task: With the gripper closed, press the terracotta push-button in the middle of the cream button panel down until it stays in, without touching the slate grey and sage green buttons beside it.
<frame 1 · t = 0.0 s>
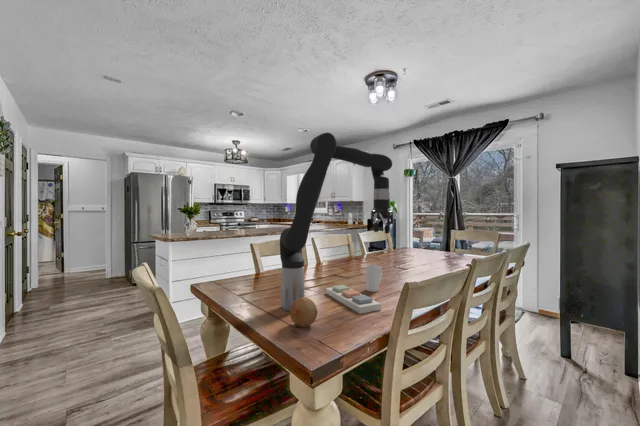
hand: (381, 232, 141), 29 cm above the table, tool pointing down, fingers open, 8 cm apart
button panel: (351, 300, 131), on the table
terracotta button: (351, 294, 131), point 3 cm above the table, slide at 0.0 cm
grey button: (362, 299, 123), point 3 cm above the table, slide at 0.0 cm
green button: (341, 288, 139), point 3 cm above the table, slide at 0.0 cm
mug: (374, 289, 149), on the table
onion: (303, 326, 104), on the table
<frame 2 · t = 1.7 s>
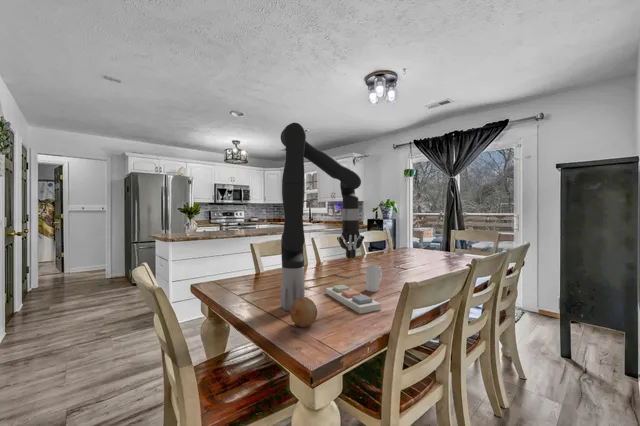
hand: (350, 258, 131), 19 cm above the table, tool pointing down, fingers closed
nothing on the table moved.
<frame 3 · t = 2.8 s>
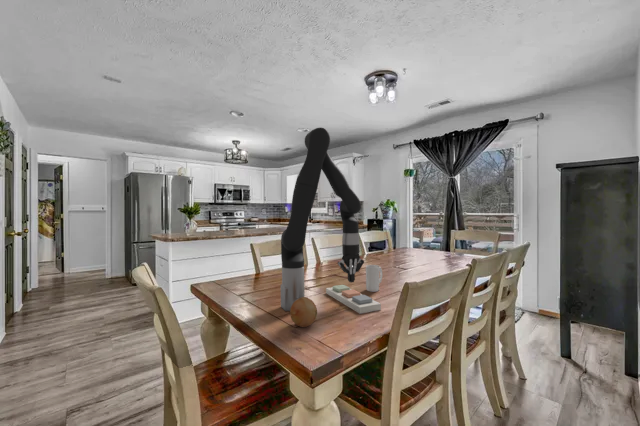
hand: (351, 281, 131), 8 cm above the table, tool pointing down, fingers closed
nothing on the table moved.
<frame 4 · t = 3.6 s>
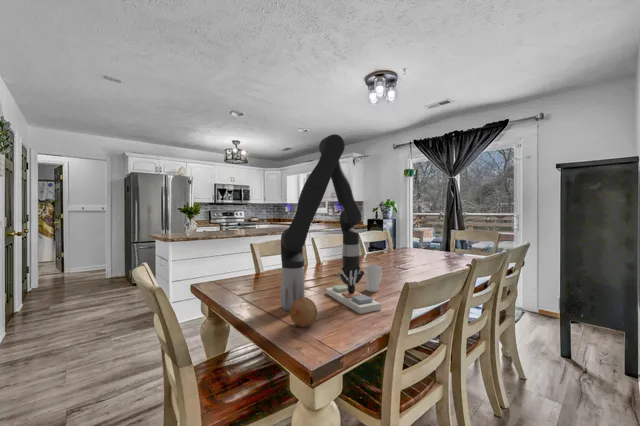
hand: (351, 293, 131), 3 cm above the table, tool pointing down, fingers closed
terracotta button: (351, 295, 131), point 2 cm above the table, slide at 0.6 cm, touching gripper
everything else where it was.
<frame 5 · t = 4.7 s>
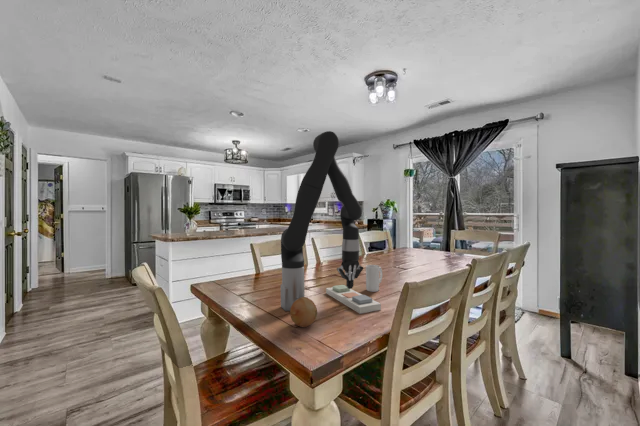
hand: (349, 288, 131), 6 cm above the table, tool pointing down, fingers closed
terracotta button: (351, 297, 131), point 2 cm above the table, slide at 1.4 cm
everything else where it was.
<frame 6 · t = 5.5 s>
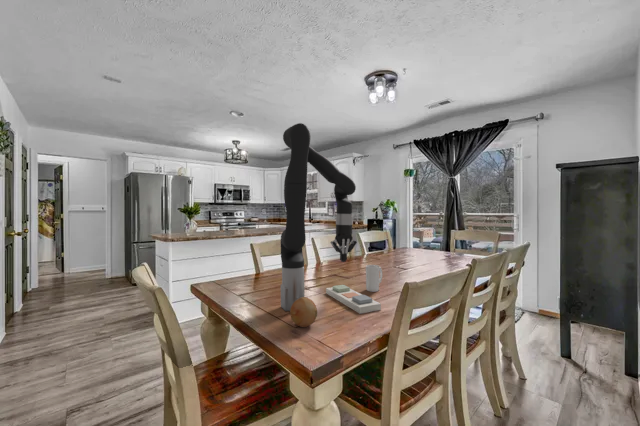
hand: (343, 261, 135), 17 cm above the table, tool pointing down, fingers closed
nothing on the table moved.
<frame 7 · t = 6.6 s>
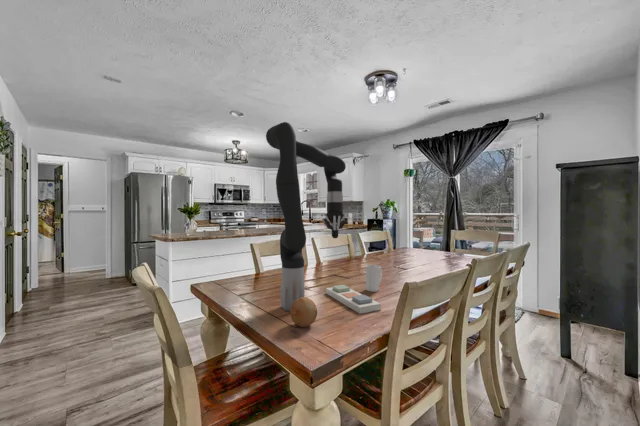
hand: (335, 238, 140), 27 cm above the table, tool pointing down, fingers closed
nothing on the table moved.
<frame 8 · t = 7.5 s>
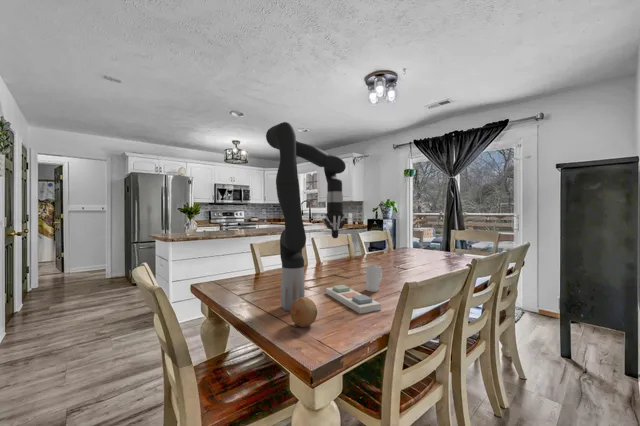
hand: (335, 238, 140), 27 cm above the table, tool pointing down, fingers closed
nothing on the table moved.
at the end: terracotta button slide at 1.4 cm; grey button slide at 0.0 cm; green button slide at 0.0 cm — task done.
